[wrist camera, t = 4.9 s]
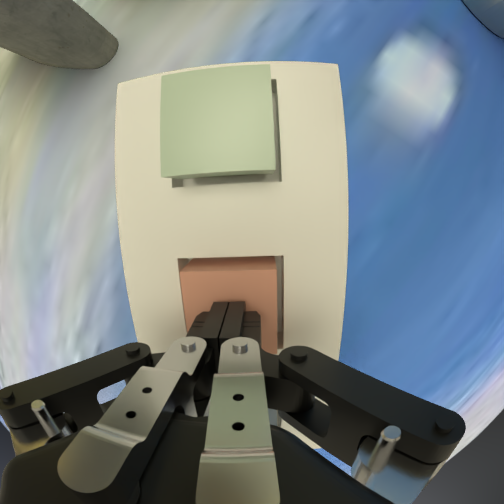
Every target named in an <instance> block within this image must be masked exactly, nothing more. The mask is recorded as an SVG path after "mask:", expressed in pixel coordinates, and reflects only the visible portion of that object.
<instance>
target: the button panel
mask: <svg viewBox="0 0 504 504" xmlns="http://www.w3.org/2000/svg"><path fill="white" fill-rule="evenodd" d="M261 64H270V71H271V86H272V103H273V121H274V140H275V163H276V170H275V172H274V173H273V174H255V175H233V176H217V177H203V178H190V179H173V178H164V177H161V162H160V102H161V77H162V76H163V75H168V74H174V73H180V72H186V71H192V70H200V69H208V68H216V67H227V66H240V65H261ZM115 183H116V201H117V215H118V226H119V236H120V245H121V253H122V260H123V267H124V274H125V280H126V286H127V292H128V298H129V303H130V308H131V313H132V318H133V323H134V327H135V332H136V336H137V340H138V342H140V343H145V344H147V345H148V346H149V347H150V349H151V354H154V353H163V352H166V351H167V350H168V348H169V347H170V345H171V344H172V343H173V342H174V341H175V340H177V339H180V338H183V337H186V335H187V327H186V320H185V313H184V305H183V298H182V290H181V281H180V271H181V270H182V269H183V268H184V267H185V266H186V265H187V264H188V263H189V262H190V261H191V260H192V259H193V258H210V257H246V256H274V257H275V262H276V268H277V354H275V355H279V354H280V352H281V351H282V350H283V349H285V348H288V347H291V346H307V347H310V348H313V349H315V350H317V351H319V352H321V353H323V354H325V355H327V356H329V357H331V358H333V359H335V360H337V361H338V359H339V352H340V344H341V335H342V326H343V316H344V305H345V292H346V276H347V256H348V169H347V149H346V134H345V122H344V111H343V101H342V92H341V84H340V77H339V70H338V64H330V63H317V62H297V61H261V62H240V63H227V64H217V65H208V66H200V67H193V68H186V69H180V70H174V71H169V72H164V73H159V74H154V75H150V76H145V77H141V78H137V79H133V80H129V81H125V82H122V83H118V87H117V100H116V118H115ZM315 398H316V399H317V400H319V401H321V402H322V403H324V404H326V403H325V402H324V401H322V400H321V399H319V398H317V397H316V396H315ZM326 405H327V404H326ZM327 406H328V405H327ZM277 426H278V427H281V428H283V429H285V430H287V431H289V432H291V433H293V434H294V435H296V436H297V437H298V438H300V439H301V440H302V441H303V442H305V443H306V444H307V445H308V446H310V447H311V448H312V449H317V448H321V447H320V446H319V445H317V444H316V443H314V442H313V441H311V440H310V439H309V438H307V437H306V436H304V435H303V434H302V433H300V432H299V431H298V430H296V429H295V428H293V427H292V426H291V425H289V424H288V423H287V422H286V421H284V420H283V419H282V418H281V417H280V416H279V414H278V410H277Z"/></svg>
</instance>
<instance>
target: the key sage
mask: <svg viewBox="0 0 504 504" xmlns="http://www.w3.org/2000/svg"><path fill="white" fill-rule="evenodd" d="M160 162H161V177H164V178H173V179H190V178H203V177H217V176H233V175H255V174H273V173H274V172H275V170H276V163H275V140H274V121H273V103H272V86H271V71H270V64H261V65H240V66H227V67H216V68H208V69H200V70H192V71H186V72H180V73H174V74H168V75H163V76H162V77H161V102H160Z"/></svg>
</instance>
